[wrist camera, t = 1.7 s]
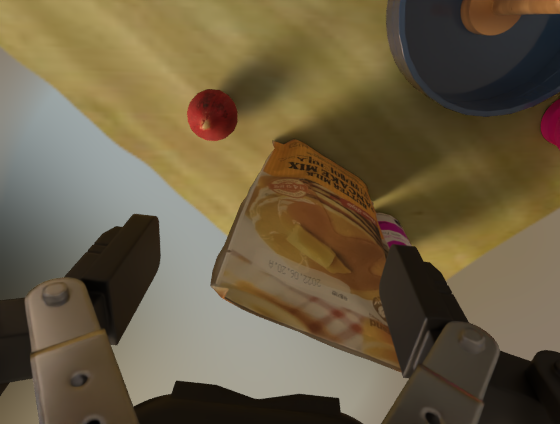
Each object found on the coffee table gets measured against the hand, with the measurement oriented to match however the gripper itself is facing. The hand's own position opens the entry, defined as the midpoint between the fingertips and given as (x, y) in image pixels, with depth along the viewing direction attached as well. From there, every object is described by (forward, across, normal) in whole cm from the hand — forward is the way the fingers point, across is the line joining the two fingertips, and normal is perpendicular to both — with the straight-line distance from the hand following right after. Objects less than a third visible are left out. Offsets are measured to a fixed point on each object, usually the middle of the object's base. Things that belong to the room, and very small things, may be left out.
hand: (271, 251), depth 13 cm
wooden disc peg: (+36, -20, -10) cm, 43 cm away
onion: (+37, +8, +4) cm, 38 cm away
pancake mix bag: (+37, -6, +12) cm, 39 cm away
